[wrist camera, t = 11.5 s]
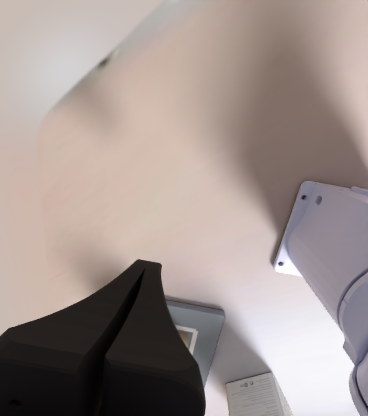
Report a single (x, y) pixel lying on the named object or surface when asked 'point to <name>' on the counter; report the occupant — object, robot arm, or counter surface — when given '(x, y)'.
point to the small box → (257, 397)
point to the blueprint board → (198, 331)
